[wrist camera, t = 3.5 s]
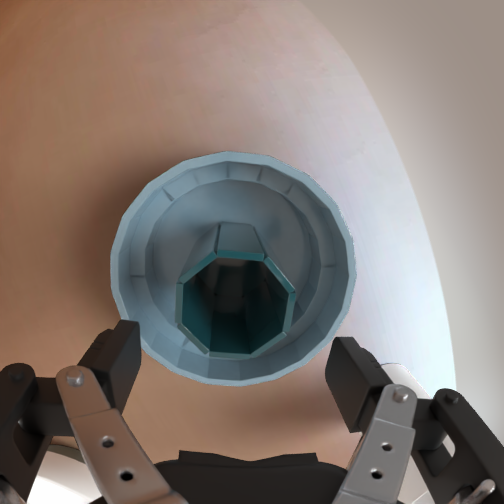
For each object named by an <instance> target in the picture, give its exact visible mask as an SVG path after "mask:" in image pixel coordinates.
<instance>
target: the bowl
mask: <svg viewBox="0 0 504 504" xmlns="http://www.w3.org/2000/svg"><path fill="white" fill-rule="evenodd" d="M99 497H101V494H100V492H99V490H98V488H97V486H96V484H95V482H94V480H93V478H92V476H91V474H90V472H89V470H88V468H87V465H86V463H85V461H84V459H83V457H82V454H81V452H80V451H79V450H76V449H73V448H70V447H66V446H61V445H49V447H48V449H47V452H46V454H45V456H44V459H43V461H42V464H41V466H40V468H39V471H38V473H37V476H36V479H35V481H34V484H33V486H32V489H31V492H30V495H29V497H28V500H27V503H28V504H89V503H90V502H92V501H94V500H96V499H97V498H99Z"/></svg>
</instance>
